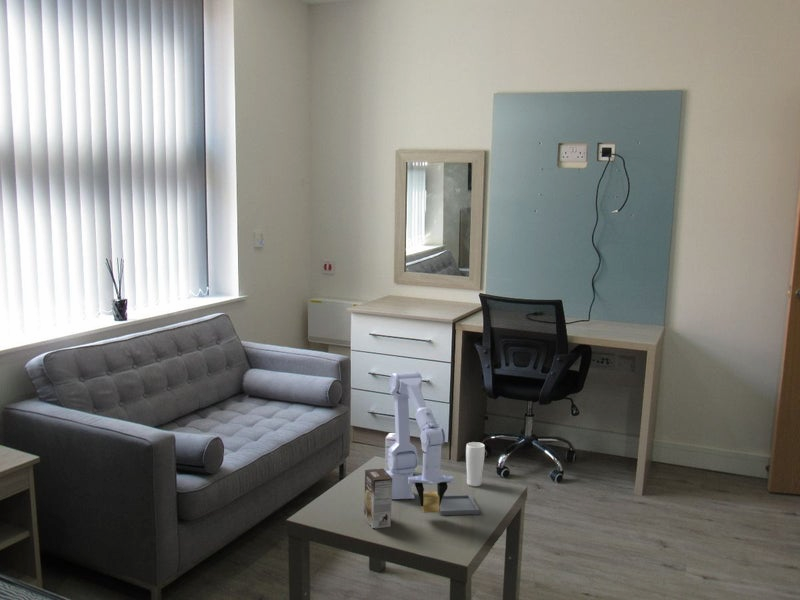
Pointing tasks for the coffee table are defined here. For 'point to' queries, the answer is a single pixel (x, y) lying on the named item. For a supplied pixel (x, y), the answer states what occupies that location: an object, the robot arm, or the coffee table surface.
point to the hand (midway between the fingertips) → (429, 504)
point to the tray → (458, 505)
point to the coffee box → (378, 498)
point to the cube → (430, 502)
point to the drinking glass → (474, 463)
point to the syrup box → (389, 442)
